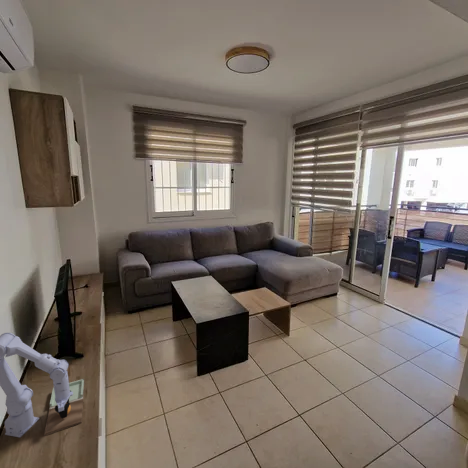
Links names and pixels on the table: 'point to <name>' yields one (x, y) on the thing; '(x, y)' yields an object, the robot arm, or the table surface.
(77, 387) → the tray
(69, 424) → the lane
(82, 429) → the table surface
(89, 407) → the table surface
